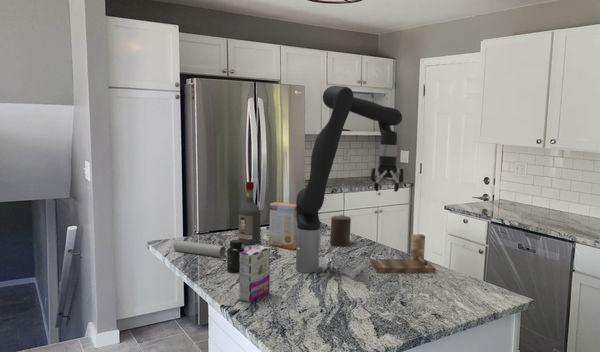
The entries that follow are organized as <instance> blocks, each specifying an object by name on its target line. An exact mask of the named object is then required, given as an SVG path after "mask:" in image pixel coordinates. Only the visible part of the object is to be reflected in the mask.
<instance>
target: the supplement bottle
mask: <svg viewBox="0 0 600 352" xmlns="http://www.w3.org/2000/svg"><path fill="white" fill-rule="evenodd" d="M243 251H246V250H245V248H244V247H243V244H242V240H239V239H231V240H230V241H229V247H228V248H227V250H226V254H227V255H226V261H227V263H226V269H227V272H228V273H229V272H230V273H233V274H234V273H235V274H236V273H238V274H240V258H239V253H240V252H243Z"/></svg>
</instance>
